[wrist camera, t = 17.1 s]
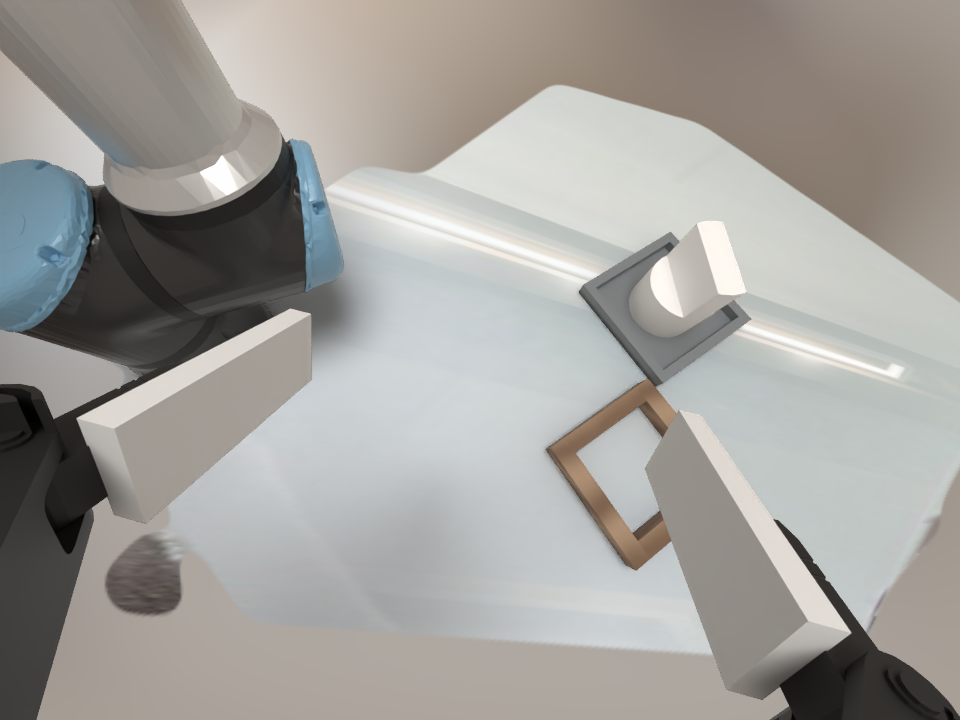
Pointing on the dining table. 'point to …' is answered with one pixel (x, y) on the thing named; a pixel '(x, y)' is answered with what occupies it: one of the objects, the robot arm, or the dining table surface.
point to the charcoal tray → (645, 349)
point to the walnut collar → (627, 545)
